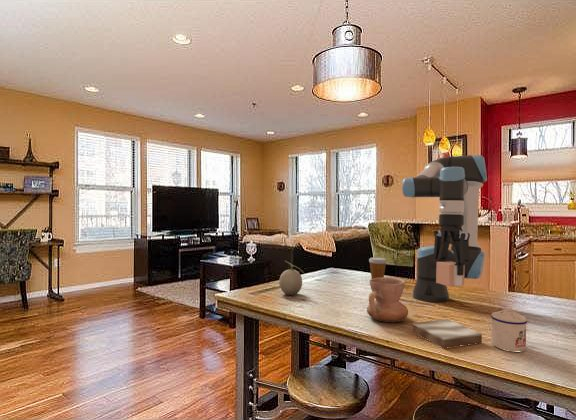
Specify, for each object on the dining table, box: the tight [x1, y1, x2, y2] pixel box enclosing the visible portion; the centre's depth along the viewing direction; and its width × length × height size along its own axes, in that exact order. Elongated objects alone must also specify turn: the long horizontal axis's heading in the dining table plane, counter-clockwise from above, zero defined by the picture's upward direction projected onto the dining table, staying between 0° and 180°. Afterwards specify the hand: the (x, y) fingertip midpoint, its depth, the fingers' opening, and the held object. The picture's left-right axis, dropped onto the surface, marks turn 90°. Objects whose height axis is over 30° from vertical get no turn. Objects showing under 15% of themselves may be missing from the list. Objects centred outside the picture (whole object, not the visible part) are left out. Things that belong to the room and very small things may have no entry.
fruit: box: [278, 260, 305, 296], centre depth 163 cm, size 10×12×15 cm
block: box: [436, 262, 465, 287], centre depth 118 cm, size 6×6×7 cm
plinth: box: [412, 318, 483, 349], centre depth 112 cm, size 14×14×3 cm
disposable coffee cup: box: [368, 256, 387, 279], centre depth 195 cm, size 10×10×12 cm
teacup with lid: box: [490, 306, 528, 352], centre depth 105 cm, size 12×9×12 cm
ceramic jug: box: [366, 276, 409, 323], centre depth 129 cm, size 18×14×14 cm
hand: (450, 283), depth 118 cm, fingers closed on block, 6 cm apart
